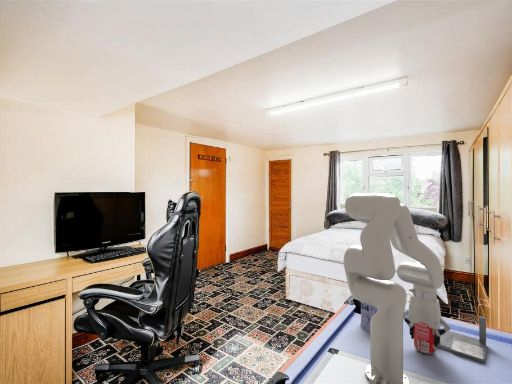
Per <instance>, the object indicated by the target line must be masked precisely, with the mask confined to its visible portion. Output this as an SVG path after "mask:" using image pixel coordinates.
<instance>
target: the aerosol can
mask: <svg viewBox="0 0 512 384" xmlns="http://www.w3.org/2000/svg"><path fill="white" fill-rule="evenodd" d="M377 310H378V309H377V308H376V307H373V306H371V305H369V304H366V303H363V302H361V301H360V327H361V328H363V329H364V330H365V331H368V332H370V321H371V318H372V316H373V315H374V314H375V313H376V312H377Z"/></svg>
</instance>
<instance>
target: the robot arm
mask: <svg viewBox="0 0 512 384" xmlns="http://www.w3.org/2000/svg"><path fill="white" fill-rule="evenodd" d="M344 209H345V210H344V211H345V213H346V214H347V216H349V217H350V218H352V219H354V220H356V221H359V222H361V223H364V224H366V225H365V226H364V228H363V229H362V230H361V232H360V236H359V242H360V245H351V246H349V247H348V248H347V249H346V250H345V252H344V255H343V269H344V272H345V273H344V274H345V276H346V277H345V278H346V280H347V285H348V289H349V292H350V294H351V296H352V297H353V298H354V300H357V301H359V302H360V303H361V302H363V303H366V304H369V305H371V306H373V307H376V308H377V309H378V310H377V312H376V313H375V314H374V315H373V316H372V318H371V321H370V331H369V334H370V338H369V339H370V342H369V343H370V345H369V346H370V352H369V353H370V357H369V358H370V363H369V364H370V365H369V364H368V365H366V367H365V370H364V371H365V373H366V374H365V377H366V376H367V377H366V379H367V378H368V379H369V380H368V379H367V380H368V382H369V384H410V380H409V378H408V376H407V375H406V374H405V375H403V373H404V322H405V323H406V325H407V326H408V328H409V335H410V339H411V340H414V323H415V324H417V323H418V322H424V323H426V324H427V325H428V326H429V327H430V328H432V329H434V331H435V333H436V335H435V348H438V347H437V346H438V344H440V336H441V335H442V334H444V333H446V332H447V331H451V329H452V328H451V325H449V323H447V321H445V320H444V318H442V313H441V307H440V301H439V299H438V297H437V291H438V290H437V289H440V288H442V286H443V284H444V281H445V277H444V271H443V268H442V264H441V261H440V259H439V257H438V256H437V255H436V253H435V252H434V251H433V250H432V249H431V248H430V247H428V246H427V245H426V244H425V243H424V242H422V241H421V240H419V238H418V234H417V231H416V228H415V225H414V221H413V217H412V215H411V211H410V209H409V207H408V206H407V205H405V204H404V203H401V200H400V198H399V197H398V196H396V195H394V194H392V193H375V192H374V193H353V194H351V195H349V196H348V197H347V198H346V199H345V203H344ZM392 247H393V248H394V249H395V250H396V251H398V252H399V253H401V254H403V255H405V256H407V257H409V258H411V259H413V260H415V261H403V262H401V263H399V265H398V266H397V268H396V266H395V258H394V254H393V250H392ZM395 274H396V275H397V277H398V278H399V280H401V281H402V282H405V283H409V284H413V285H412V287H409V288H408V292H410V293H412V294H411V295H410V297H409V302H408V303H409V304H408V310H406V304H407V296H408V295H407V291H406V289H405V288H404V287H403V286H402V285H401V284H399V283H397V282H396V281H393V278H394V277H395ZM422 320H424V321H422ZM441 325H442V326H443V328H441ZM439 328H441V330H440V329H439ZM404 377H405V378H406V379H405V378H404Z"/></svg>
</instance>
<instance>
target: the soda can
mask: <svg viewBox="0 0 512 384" xmlns="http://www.w3.org/2000/svg"><path fill="white" fill-rule="evenodd" d="M422 321H424V320H422ZM435 335H436V333H435V331H434V329H432V328H430V327H429V326H428V325H427V324H426V323H424V322H418V323H417V324H415V323H414V339H413V346H414V348H415V349H416V350H418V351H419V352H420V353H424V354H427V355H431V354H433V353H435V352H436V347H435Z"/></svg>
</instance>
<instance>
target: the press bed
mask: <svg viewBox="0 0 512 384" xmlns="http://www.w3.org/2000/svg"><path fill="white" fill-rule="evenodd" d="M478 326H479V327H478V328H479V329H478V332H479V335H478V336H479V338H476V337H472V336H468V335H465V334H461V333H458V332H454V331H451V330H449V331H447V332H446V333H444V334H442V335H441V336H440V344H438V346H437V347H436V348H439V349H441V350H444V351H448V352H450V353H454V354H457V355H459V356H463V357H465V358H468V359H472V360H474V361H477V362H480V363H483V364H485V363H486V357H487V356H486V354H487V317H485V316H481V315H479V316H478ZM441 329H442V328H441V327H440V330H441Z"/></svg>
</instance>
